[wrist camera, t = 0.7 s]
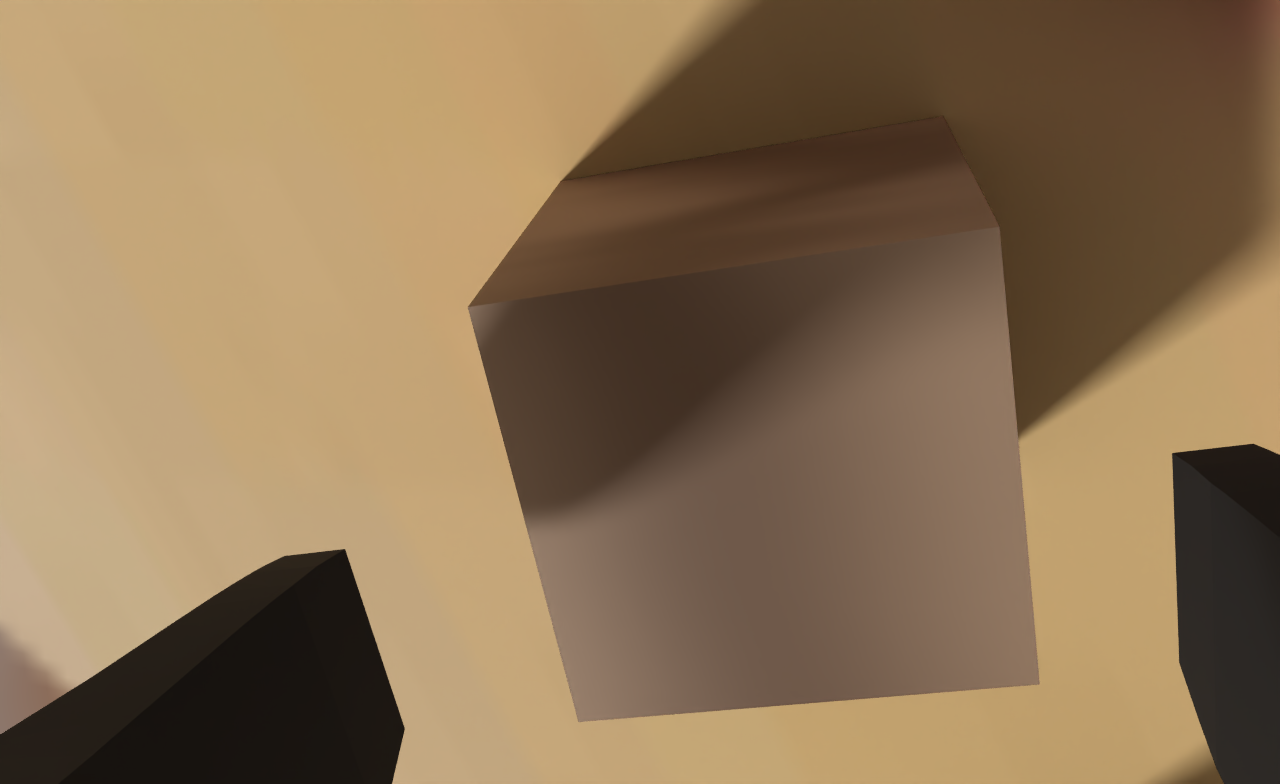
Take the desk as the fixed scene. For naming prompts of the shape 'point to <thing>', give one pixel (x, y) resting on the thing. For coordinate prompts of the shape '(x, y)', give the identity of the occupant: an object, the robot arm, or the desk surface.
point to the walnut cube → (768, 427)
